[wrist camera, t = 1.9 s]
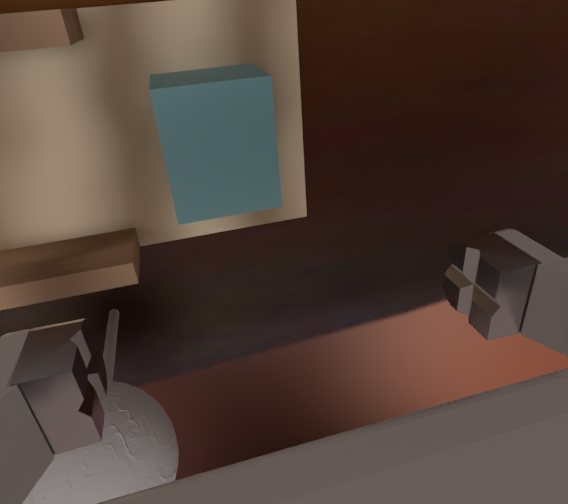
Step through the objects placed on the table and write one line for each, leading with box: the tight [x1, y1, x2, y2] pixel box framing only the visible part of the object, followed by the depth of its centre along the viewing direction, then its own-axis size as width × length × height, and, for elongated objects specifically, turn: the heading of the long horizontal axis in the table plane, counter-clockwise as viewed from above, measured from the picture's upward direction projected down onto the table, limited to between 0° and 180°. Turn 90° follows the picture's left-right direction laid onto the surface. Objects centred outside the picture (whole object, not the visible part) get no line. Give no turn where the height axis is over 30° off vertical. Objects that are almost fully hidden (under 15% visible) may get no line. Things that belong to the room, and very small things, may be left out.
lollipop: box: [22, 309, 179, 504], centre depth 23 cm, size 7×7×15 cm
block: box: [149, 63, 282, 225], centre depth 21 cm, size 5×6×4 cm
